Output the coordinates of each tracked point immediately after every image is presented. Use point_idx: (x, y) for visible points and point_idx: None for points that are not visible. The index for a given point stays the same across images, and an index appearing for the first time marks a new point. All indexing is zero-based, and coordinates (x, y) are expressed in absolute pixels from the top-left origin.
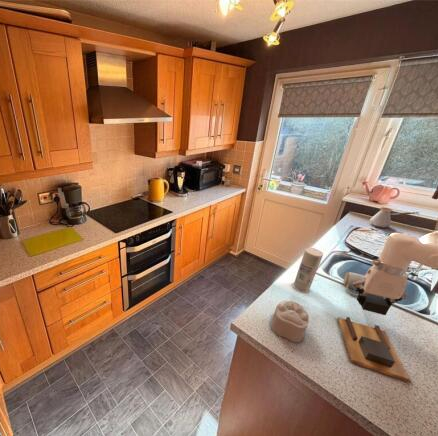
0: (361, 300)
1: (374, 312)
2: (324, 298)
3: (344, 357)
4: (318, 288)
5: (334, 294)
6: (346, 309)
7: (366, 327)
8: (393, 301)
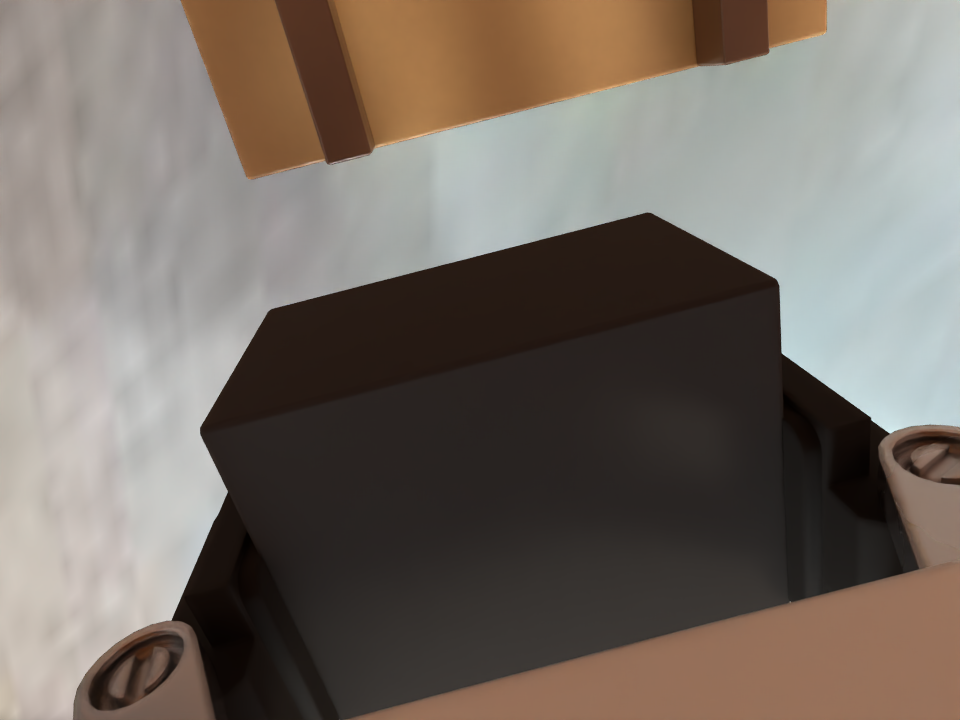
0: None
1: (453, 263)
2: (878, 408)
3: None
4: None
5: None
6: None
7: (466, 73)
8: (121, 703)
